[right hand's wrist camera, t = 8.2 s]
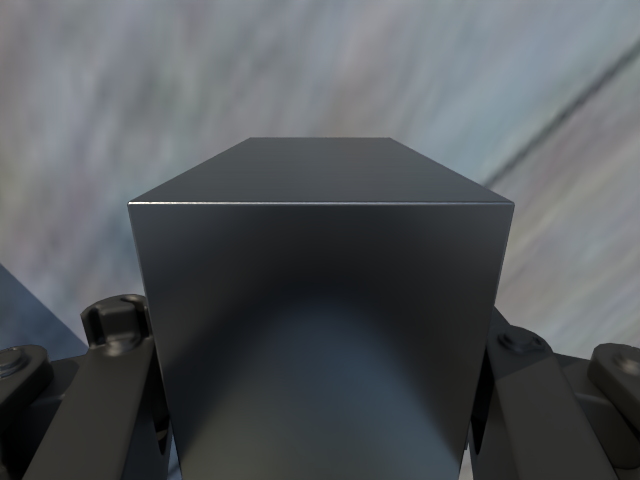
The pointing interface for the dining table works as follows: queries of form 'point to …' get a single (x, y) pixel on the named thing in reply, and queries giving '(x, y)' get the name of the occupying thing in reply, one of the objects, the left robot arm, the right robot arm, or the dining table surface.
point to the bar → (320, 308)
